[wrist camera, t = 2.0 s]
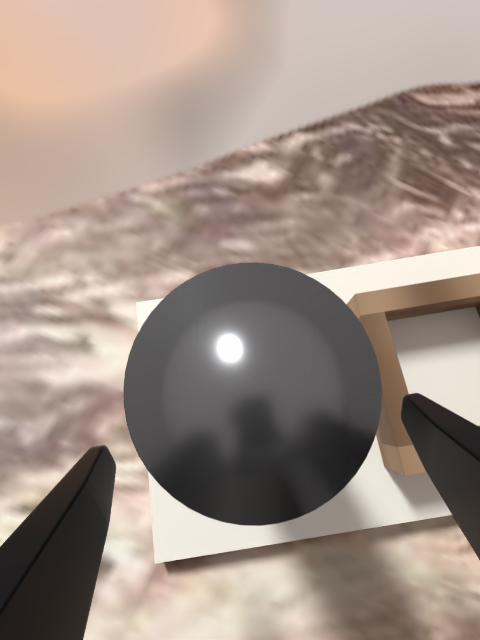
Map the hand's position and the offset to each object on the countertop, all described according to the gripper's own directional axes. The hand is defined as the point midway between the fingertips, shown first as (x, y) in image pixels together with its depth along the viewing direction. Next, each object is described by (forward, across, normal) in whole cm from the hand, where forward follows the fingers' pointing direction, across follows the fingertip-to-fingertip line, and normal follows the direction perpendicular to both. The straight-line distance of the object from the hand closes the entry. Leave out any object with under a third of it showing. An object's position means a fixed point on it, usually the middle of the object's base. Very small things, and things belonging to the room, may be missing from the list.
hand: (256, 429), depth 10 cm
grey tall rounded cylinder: (+7, 0, +5) cm, 8 cm away
